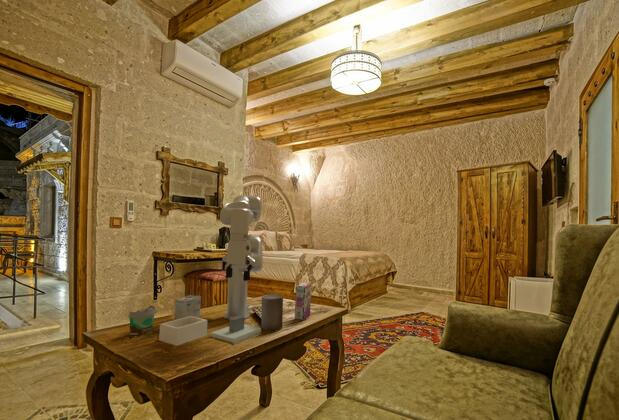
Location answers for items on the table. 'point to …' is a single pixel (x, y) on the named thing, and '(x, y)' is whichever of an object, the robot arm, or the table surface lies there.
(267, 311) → the pillar candle
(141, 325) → the food container
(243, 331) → the lid
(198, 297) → the light bulb box
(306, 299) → the candy bar box
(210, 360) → the table surface
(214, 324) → the table surface
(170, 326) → the tub
